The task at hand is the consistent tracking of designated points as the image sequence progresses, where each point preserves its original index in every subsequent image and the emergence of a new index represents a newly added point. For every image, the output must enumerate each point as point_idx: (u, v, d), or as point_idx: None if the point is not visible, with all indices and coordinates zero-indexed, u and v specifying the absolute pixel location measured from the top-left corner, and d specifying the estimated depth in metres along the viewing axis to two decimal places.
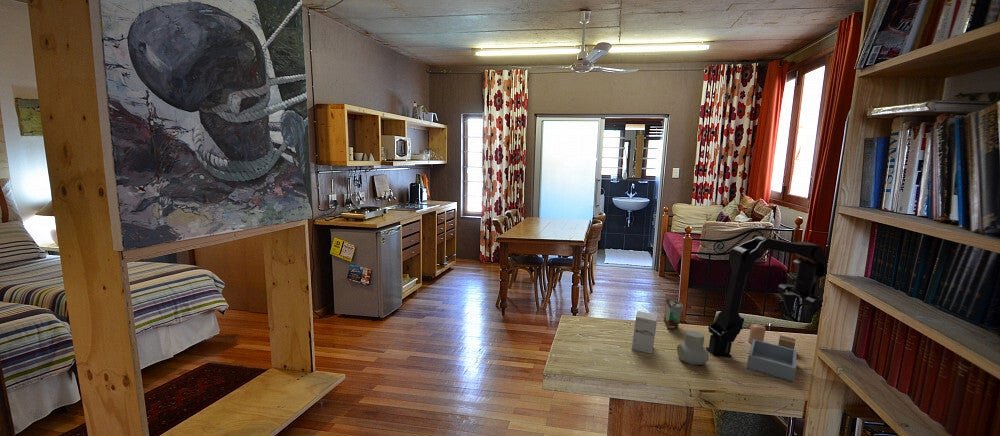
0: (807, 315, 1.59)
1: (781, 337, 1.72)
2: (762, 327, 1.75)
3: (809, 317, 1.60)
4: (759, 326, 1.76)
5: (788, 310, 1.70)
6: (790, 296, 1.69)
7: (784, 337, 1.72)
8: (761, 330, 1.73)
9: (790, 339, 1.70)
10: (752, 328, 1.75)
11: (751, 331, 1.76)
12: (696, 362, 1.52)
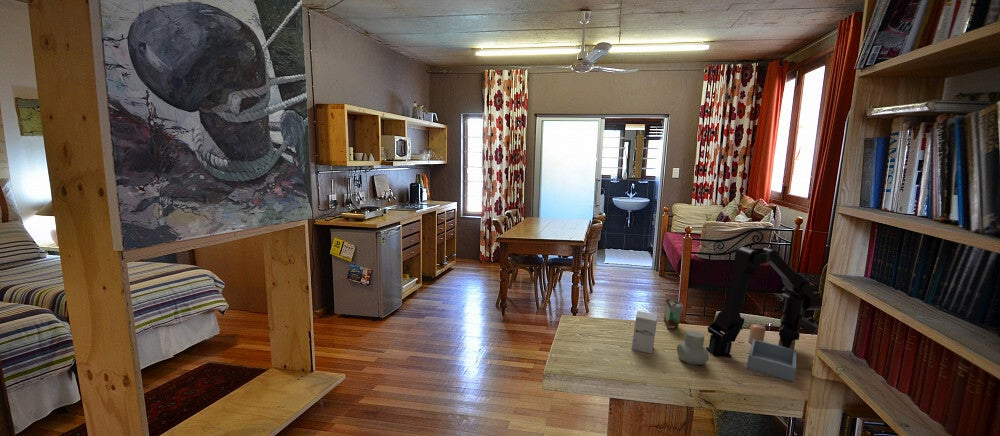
0: (782, 342, 1.68)
1: None
2: (762, 327, 1.75)
3: (785, 345, 1.68)
4: (759, 326, 1.76)
5: None
6: None
7: None
8: (761, 330, 1.73)
9: None
10: (752, 328, 1.75)
11: (751, 331, 1.76)
12: (696, 362, 1.52)
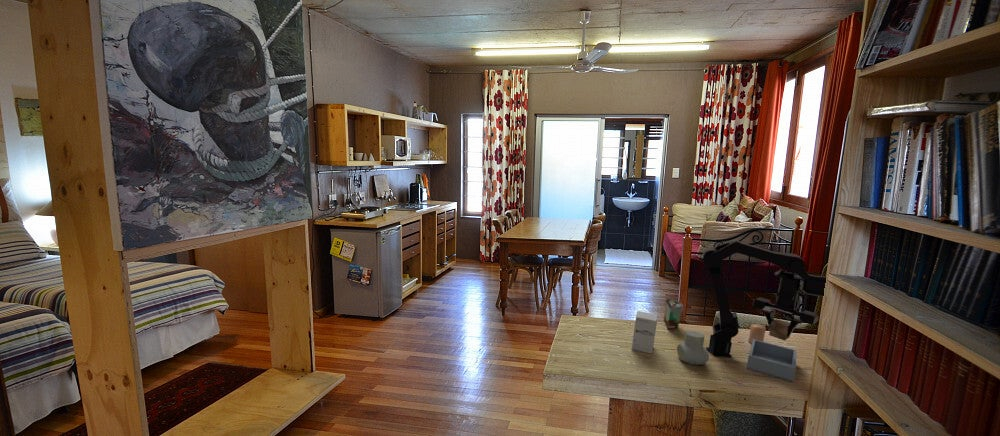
0: (792, 329, 1.53)
1: (780, 324, 1.55)
2: (762, 327, 1.75)
3: (792, 330, 1.54)
4: (759, 326, 1.76)
5: None
6: (772, 313, 1.58)
7: (778, 322, 1.56)
8: (761, 330, 1.73)
9: (782, 321, 1.57)
10: (752, 328, 1.75)
11: (751, 331, 1.76)
12: (696, 362, 1.52)
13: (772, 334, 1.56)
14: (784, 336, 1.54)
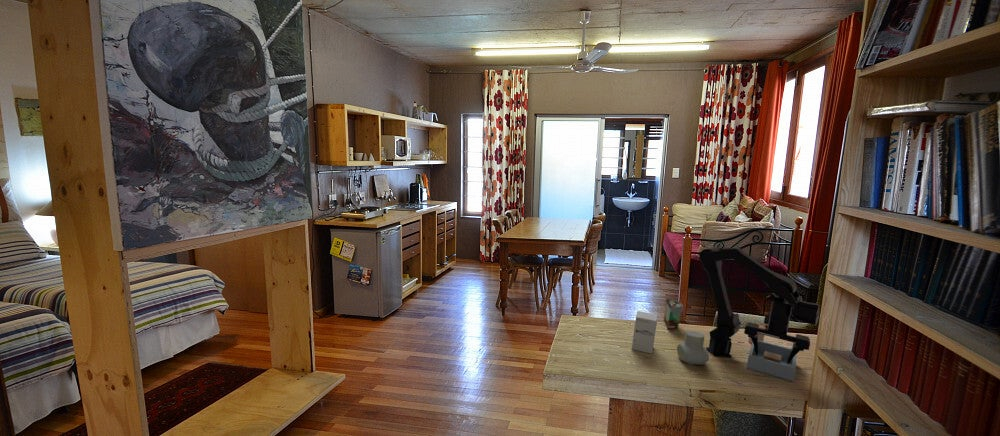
0: (793, 356, 1.49)
1: (773, 357, 1.51)
2: (762, 327, 1.75)
3: None
4: (759, 326, 1.76)
5: (757, 352, 1.55)
6: (758, 337, 1.55)
7: (770, 355, 1.53)
8: None
9: (772, 354, 1.54)
10: None
11: None
12: (696, 362, 1.52)
13: None
14: None
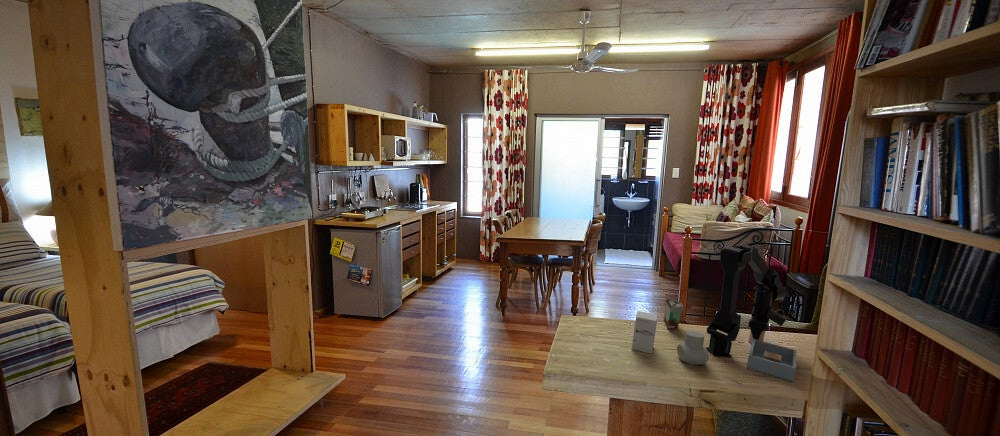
0: (752, 333, 1.74)
1: (773, 357, 1.51)
2: None
3: (755, 336, 1.73)
4: None
5: None
6: None
7: (770, 355, 1.53)
8: None
9: (772, 354, 1.54)
10: None
11: None
12: (696, 362, 1.52)
13: None
14: None
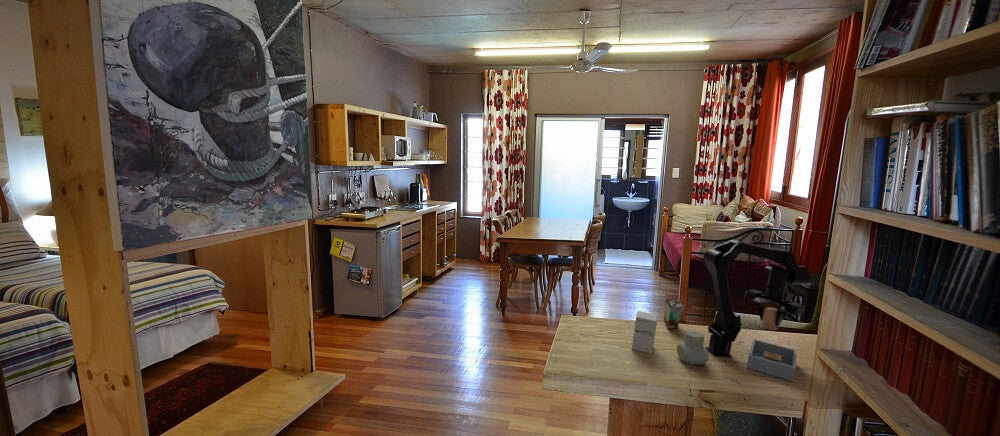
0: (779, 319, 1.61)
1: (773, 357, 1.51)
2: (774, 309, 1.66)
3: (780, 321, 1.62)
4: (771, 309, 1.65)
5: (761, 318, 1.68)
6: (763, 304, 1.67)
7: (770, 355, 1.53)
8: None
9: (772, 354, 1.54)
10: (773, 313, 1.63)
11: (772, 317, 1.63)
12: (696, 362, 1.52)
13: None
14: None
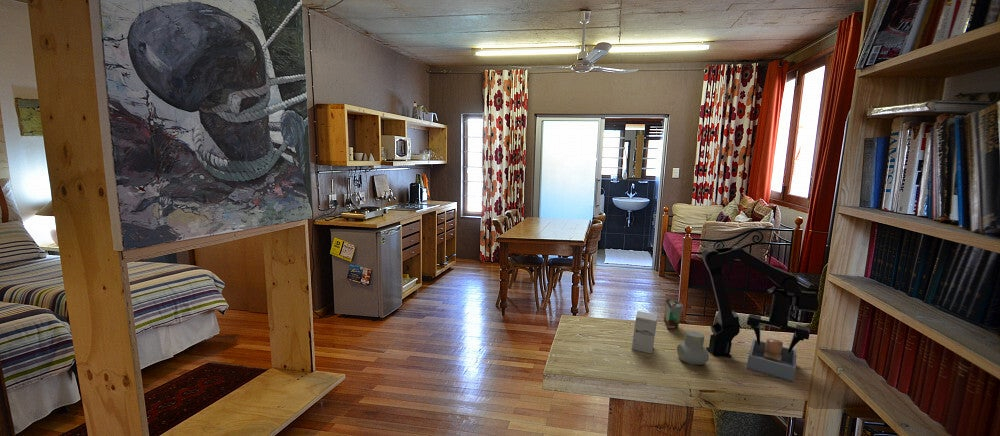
0: (793, 346, 1.56)
1: (773, 357, 1.51)
2: (774, 340, 1.61)
3: (792, 347, 1.57)
4: (773, 340, 1.61)
5: (759, 343, 1.62)
6: (760, 327, 1.62)
7: (770, 355, 1.53)
8: None
9: (772, 354, 1.54)
10: (779, 346, 1.58)
11: (778, 350, 1.58)
12: (696, 362, 1.52)
13: None
14: None
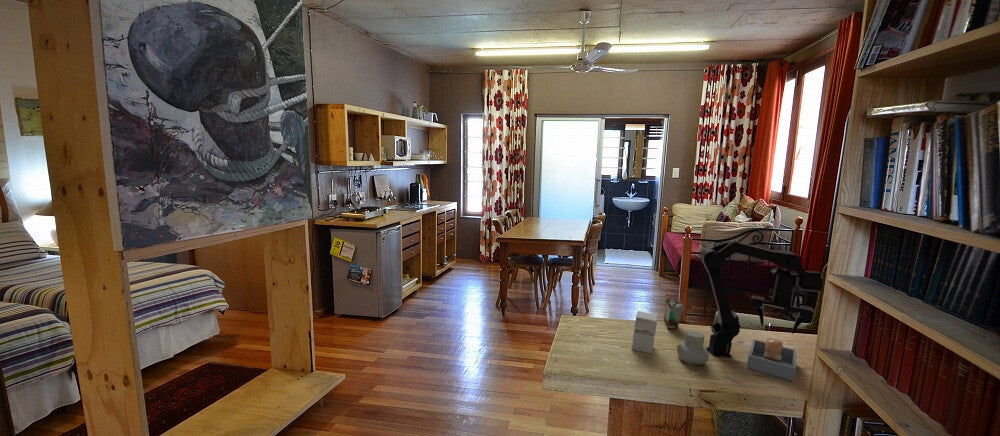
0: (797, 326, 1.55)
1: (773, 357, 1.51)
2: (774, 340, 1.61)
3: (796, 327, 1.56)
4: (773, 340, 1.61)
5: (762, 324, 1.61)
6: (763, 308, 1.61)
7: (770, 355, 1.53)
8: None
9: (772, 354, 1.54)
10: (779, 346, 1.58)
11: (778, 350, 1.58)
12: (696, 362, 1.52)
13: None
14: None
